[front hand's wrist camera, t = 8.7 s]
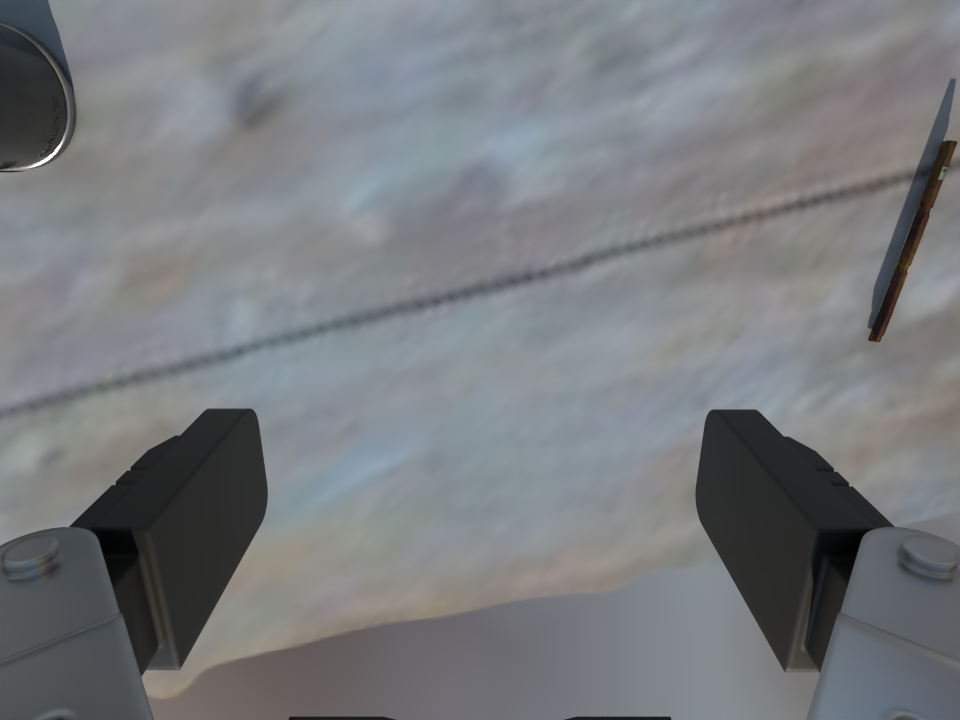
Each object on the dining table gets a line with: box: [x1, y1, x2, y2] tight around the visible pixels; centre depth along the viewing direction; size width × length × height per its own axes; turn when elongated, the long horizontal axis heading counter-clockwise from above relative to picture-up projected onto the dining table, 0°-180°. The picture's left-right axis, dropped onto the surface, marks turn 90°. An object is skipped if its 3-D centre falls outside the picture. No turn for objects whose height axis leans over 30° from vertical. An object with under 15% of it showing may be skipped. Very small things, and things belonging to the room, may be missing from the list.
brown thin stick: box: [868, 141, 957, 342], centre depth 46 cm, size 15×1×1 cm, turn 172°
